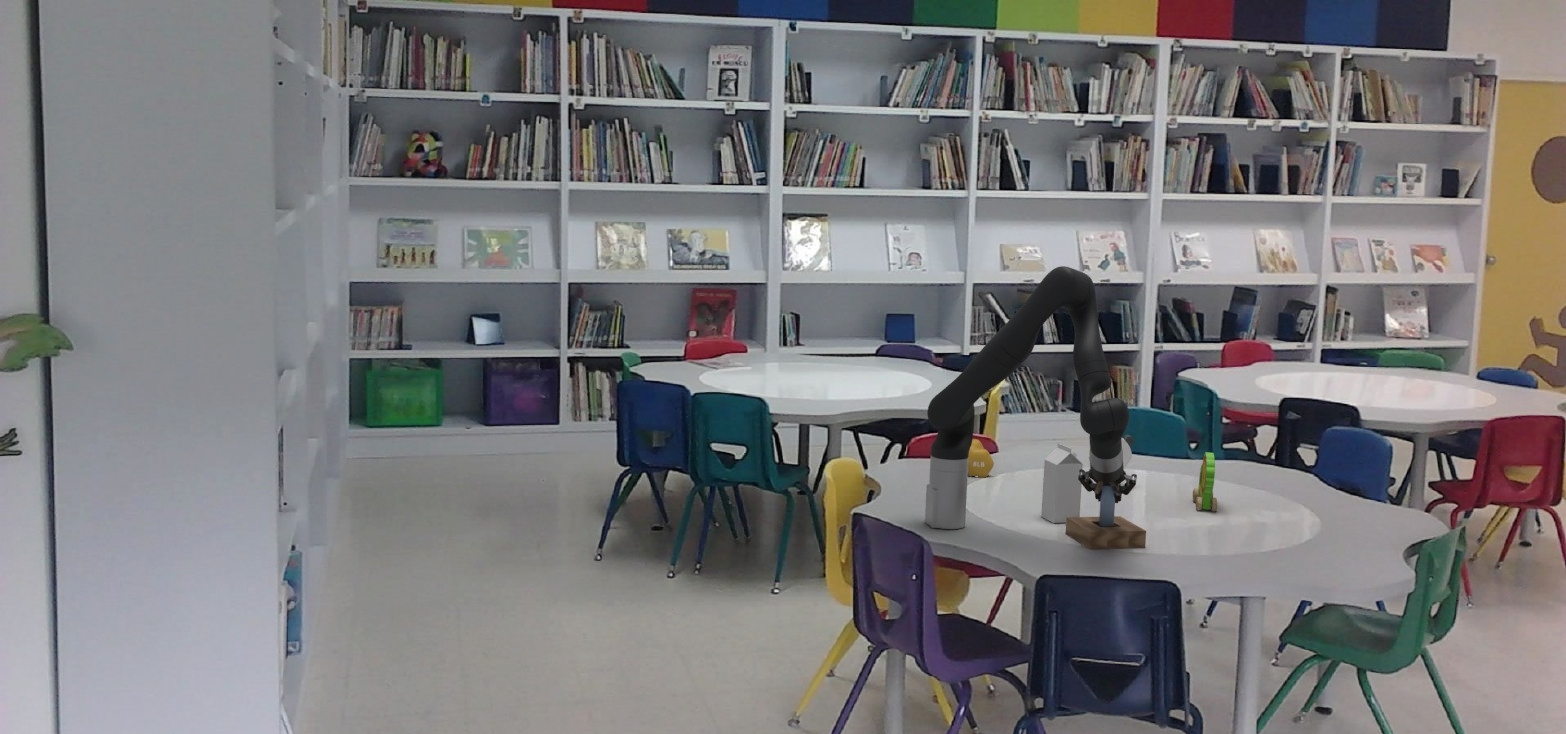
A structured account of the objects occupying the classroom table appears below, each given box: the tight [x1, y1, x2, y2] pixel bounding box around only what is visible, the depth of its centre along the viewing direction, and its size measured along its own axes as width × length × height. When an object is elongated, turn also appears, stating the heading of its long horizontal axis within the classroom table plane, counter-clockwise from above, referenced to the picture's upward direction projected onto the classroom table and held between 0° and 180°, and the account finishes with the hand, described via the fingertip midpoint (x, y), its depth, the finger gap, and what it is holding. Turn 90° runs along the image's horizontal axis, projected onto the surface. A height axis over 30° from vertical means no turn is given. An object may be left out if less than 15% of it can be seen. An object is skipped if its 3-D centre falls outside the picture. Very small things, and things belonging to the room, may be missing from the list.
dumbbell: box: [968, 438, 995, 478], centre depth 402 cm, size 19×9×8 cm, turn 0°
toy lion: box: [1192, 451, 1218, 512], centre depth 364 cm, size 16×5×15 cm, turn 168°
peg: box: [1098, 486, 1116, 527], centre depth 326 cm, size 3×3×14 cm
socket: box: [1065, 515, 1147, 550], centre depth 328 cm, size 14×14×4 cm
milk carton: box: [1040, 442, 1084, 524], centre depth 345 cm, size 7×7×19 cm
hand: (1108, 499), depth 328 cm, fingers closed on peg, 3 cm apart
